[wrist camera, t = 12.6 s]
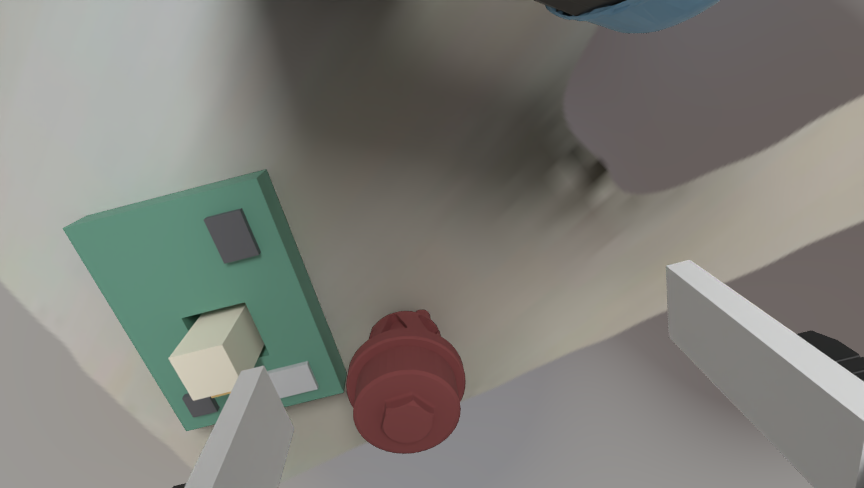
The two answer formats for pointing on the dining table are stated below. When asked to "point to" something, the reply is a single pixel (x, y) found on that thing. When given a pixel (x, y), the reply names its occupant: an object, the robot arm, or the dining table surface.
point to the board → (212, 285)
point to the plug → (217, 351)
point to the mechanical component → (405, 384)
